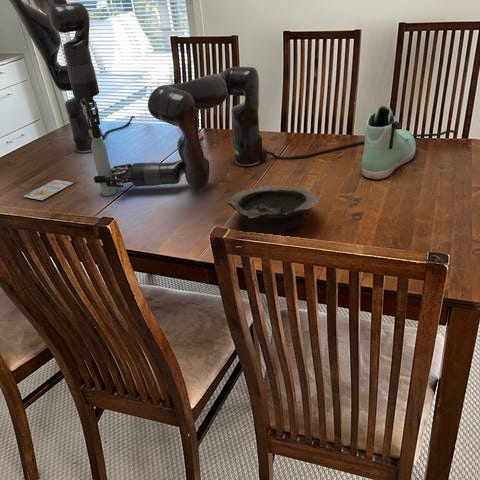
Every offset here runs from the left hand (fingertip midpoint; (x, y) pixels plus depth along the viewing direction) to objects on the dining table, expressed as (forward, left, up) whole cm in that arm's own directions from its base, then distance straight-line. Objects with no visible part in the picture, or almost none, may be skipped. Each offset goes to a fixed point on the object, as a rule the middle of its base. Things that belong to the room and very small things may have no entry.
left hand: (95, 135), depth 149 cm
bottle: (0, 0, -20) cm, 20 cm away
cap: (0, 0, +2) cm, 2 cm away
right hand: (+2, -2, -14) cm, 14 cm away
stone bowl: (-16, +57, -20) cm, 63 cm away
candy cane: (-48, -12, -20) cm, 53 cm away
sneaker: (-72, +63, -20) cm, 98 cm away
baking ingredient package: (+11, -20, -20) cm, 30 cm away
